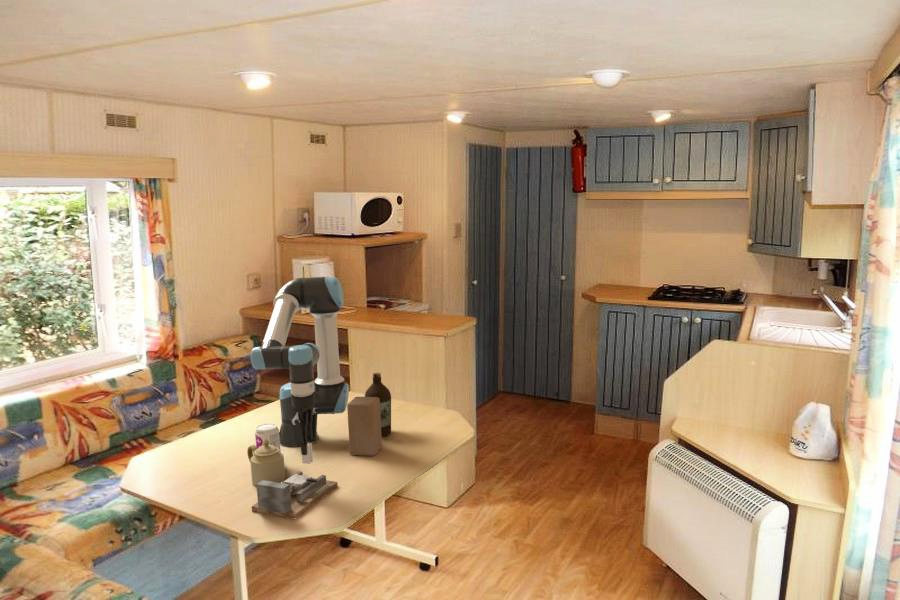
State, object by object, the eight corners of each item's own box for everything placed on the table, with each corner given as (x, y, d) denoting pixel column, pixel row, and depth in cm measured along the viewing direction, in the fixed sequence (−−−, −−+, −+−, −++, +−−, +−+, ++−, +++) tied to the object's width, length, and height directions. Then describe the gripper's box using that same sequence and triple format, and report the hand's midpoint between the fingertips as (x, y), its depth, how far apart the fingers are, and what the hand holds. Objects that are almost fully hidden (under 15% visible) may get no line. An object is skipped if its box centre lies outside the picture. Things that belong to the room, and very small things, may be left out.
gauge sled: (274, 500, 213) (273, 486, 212) (295, 485, 223) (294, 472, 222) (303, 505, 209) (302, 490, 208) (322, 490, 219) (321, 476, 218)
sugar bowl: (235, 485, 228) (231, 443, 226) (251, 472, 239) (248, 431, 237) (276, 488, 225) (273, 445, 223) (290, 474, 236) (287, 433, 234)
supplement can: (260, 473, 238) (257, 432, 235) (255, 465, 245) (252, 425, 243) (283, 468, 241) (280, 428, 239) (278, 460, 249) (275, 421, 246)
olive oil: (362, 431, 276) (359, 372, 271) (387, 427, 280) (384, 368, 276) (371, 440, 266) (368, 378, 262) (396, 435, 271) (394, 374, 267)
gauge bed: (250, 511, 209) (248, 482, 208) (297, 479, 232) (295, 453, 230) (294, 519, 203) (292, 490, 202) (337, 486, 226) (335, 459, 224)
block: (374, 457, 249) (372, 404, 246) (349, 455, 251) (346, 403, 248) (382, 446, 259) (380, 396, 256) (358, 445, 261) (355, 395, 258)
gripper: (300, 400, 211) (305, 472, 215) (324, 388, 224) (329, 455, 228) (280, 398, 214) (285, 469, 218) (305, 386, 227) (310, 453, 231)
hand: (307, 462), depth 223 cm, fingers closed
